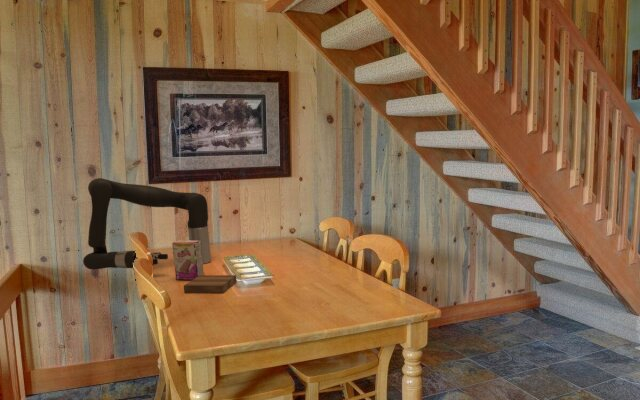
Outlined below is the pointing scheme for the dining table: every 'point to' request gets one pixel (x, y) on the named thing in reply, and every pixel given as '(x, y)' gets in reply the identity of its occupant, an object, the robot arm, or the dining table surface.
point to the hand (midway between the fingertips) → (162, 259)
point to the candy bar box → (187, 259)
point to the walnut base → (210, 284)
